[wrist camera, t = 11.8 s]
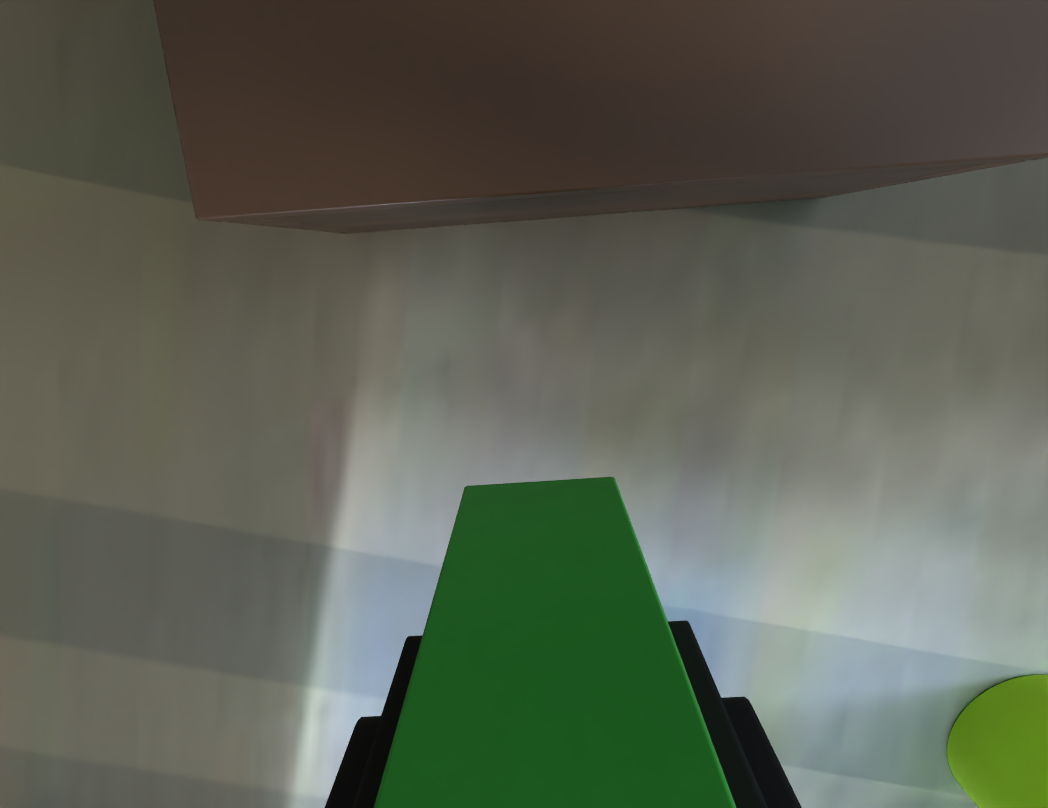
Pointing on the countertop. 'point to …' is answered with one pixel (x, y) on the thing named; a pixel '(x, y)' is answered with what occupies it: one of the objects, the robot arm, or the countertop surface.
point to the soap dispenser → (1004, 745)
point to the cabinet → (588, 103)
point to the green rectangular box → (549, 667)
